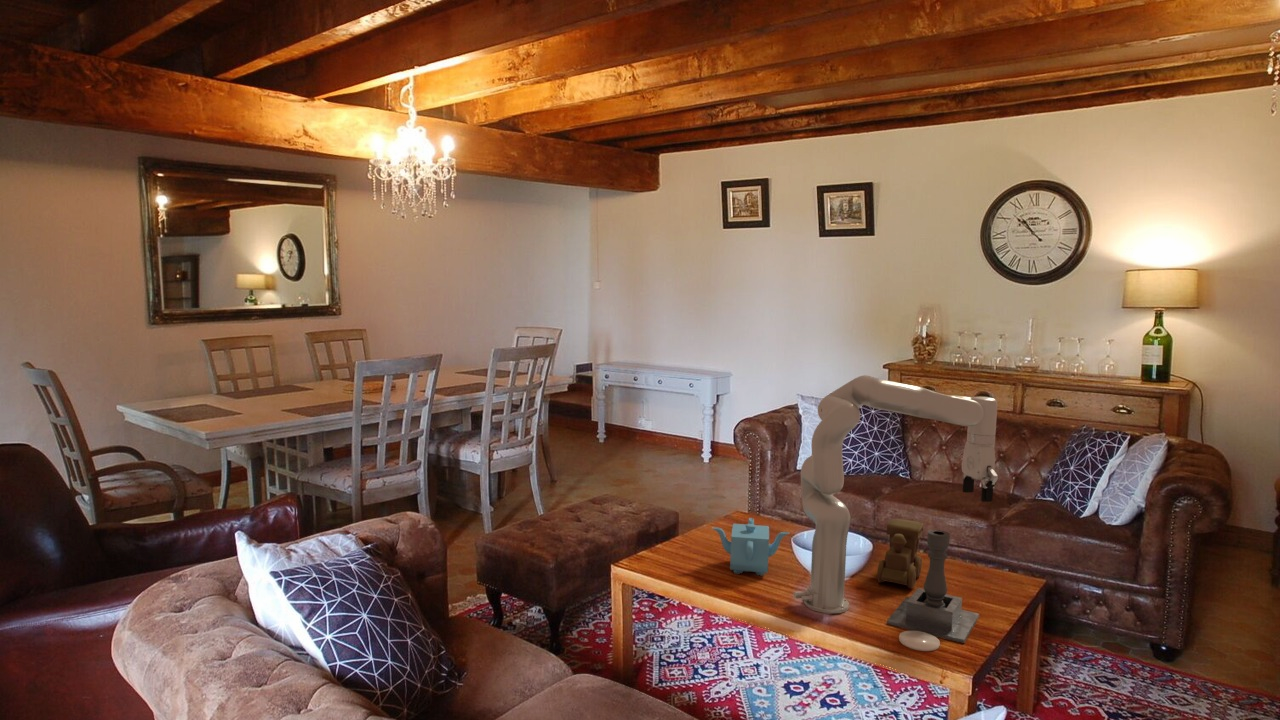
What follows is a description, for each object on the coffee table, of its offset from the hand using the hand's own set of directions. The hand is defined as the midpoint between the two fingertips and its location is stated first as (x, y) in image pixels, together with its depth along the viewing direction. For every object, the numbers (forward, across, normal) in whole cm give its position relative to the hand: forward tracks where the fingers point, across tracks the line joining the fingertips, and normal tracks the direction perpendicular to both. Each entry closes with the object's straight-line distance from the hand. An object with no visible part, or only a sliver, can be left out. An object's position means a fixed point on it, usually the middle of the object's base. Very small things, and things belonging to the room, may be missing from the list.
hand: (977, 496), depth 231 cm
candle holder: (+31, +13, -19) cm, 39 cm away
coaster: (+31, +25, -29) cm, 50 cm away
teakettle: (+31, -30, -59) cm, 74 cm away
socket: (+31, +13, -19) cm, 39 cm away
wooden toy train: (+32, -17, -14) cm, 38 cm away
